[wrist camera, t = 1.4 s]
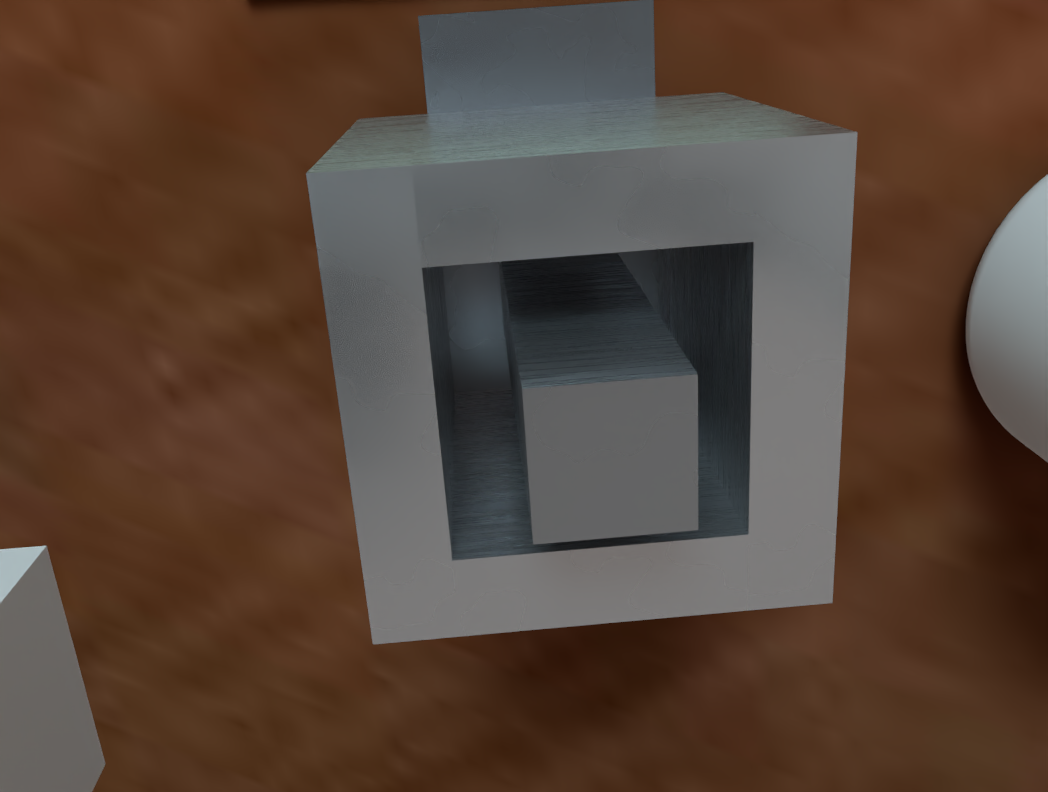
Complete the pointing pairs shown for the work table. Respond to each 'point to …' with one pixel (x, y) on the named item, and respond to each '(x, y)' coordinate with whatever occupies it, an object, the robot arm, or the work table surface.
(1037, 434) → the cup
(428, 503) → the collar
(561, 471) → the grey block
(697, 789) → the work table surface
